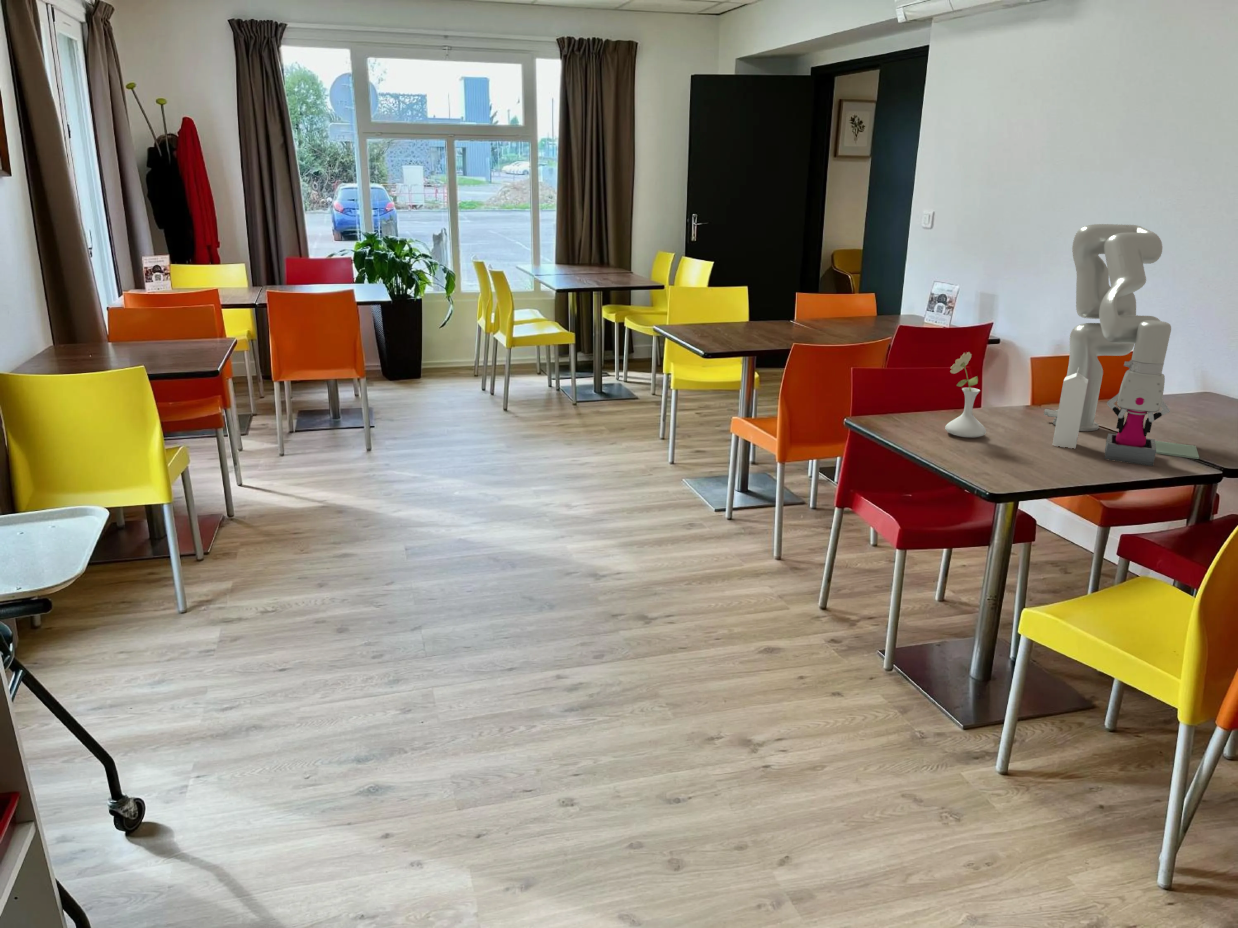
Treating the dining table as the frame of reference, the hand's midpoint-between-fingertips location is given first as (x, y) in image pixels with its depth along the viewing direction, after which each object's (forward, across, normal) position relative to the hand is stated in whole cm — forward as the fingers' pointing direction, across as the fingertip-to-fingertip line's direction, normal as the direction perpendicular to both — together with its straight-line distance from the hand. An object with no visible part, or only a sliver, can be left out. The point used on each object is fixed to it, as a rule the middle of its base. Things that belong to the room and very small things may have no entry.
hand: (1132, 432), depth 240 cm
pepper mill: (+7, 0, 0) cm, 7 cm away
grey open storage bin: (+7, 0, 0) cm, 7 cm away
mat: (+7, +10, +14) cm, 18 cm away
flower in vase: (+7, -43, -2) cm, 43 cm away
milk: (+7, -16, +4) cm, 18 cm away
